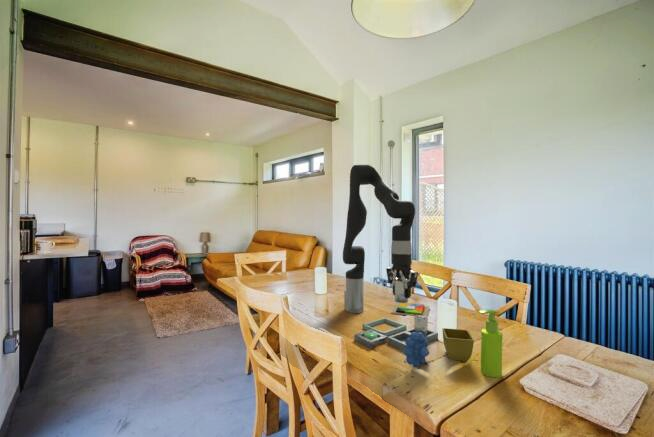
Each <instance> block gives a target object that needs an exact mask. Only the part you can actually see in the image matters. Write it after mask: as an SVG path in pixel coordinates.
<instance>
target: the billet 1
mask: <svg viewBox="0 0 654 437" xmlns="http://www.w3.org/2000/svg"><path fill="white" fill-rule="evenodd" d="M407 284H408V282H407ZM394 302H395V303H409V298H408V299H406V298H405V285H404V283H403V281H402V279H397V280H395V295H394Z"/></svg>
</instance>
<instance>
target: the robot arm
mask: <svg viewBox="0 0 654 437" xmlns="http://www.w3.org/2000/svg"><path fill="white" fill-rule="evenodd" d="M364 185H365V186H367V185H371V186H372V187H373V188H374V189H373V191H374V196H375V198H376V199H377V201H379V202H380V203H381V204H382V205H383V207H384V209H385V211H386V214H387V215H388V216H389V217H390V218H392V219H399V220H400V221H399V223H398V224H395V225H393V226H392V228H391V246H390V247H391V251H390V252H391V265H392V266H391V267H386V270H385V271H386V276H387V281H388V284H391V285H392V295H393V296H395V280H397V279H402V281H403V283H404V285H405V298H406V299H408V300H409V299H410V297H411V296H412V289H413V288H415V287H416V286H417V280H418V276H419V272H418V271H413V269H412V268H411V266H412V262H413V261H412V260H413V259H412V258H413V257H412V255H413V254H412V253H413V252H412V241H411V240H412V233H411V230H412V227H413V223H414V222H413V221H414V219H415V216H416V208H415V204H414V203H413V202H412V201H411V200H406V199H405V200H404V199H403V200H401V199H400V197H399V194H398V193H397V192H396V191H395V190H394V189H392V187H390V186H389V185H388V184H387V182H385V180H384V179H383V177H382V176H381V174H380V173H379V171H378V170H377V169H376V168H375V167H374V166H373V165H372V164H355V165H354V164H353V166H351V168H350V173H349V198H348V207H347V208H348V209H347V215H346V217H347V218H346V231H345V239H344V244H343V248H342V261H343V264H345V265H355V266H354V267H353V268H351V269H348V270H347V271H346V272H345V291H344V292H343V293H344V295H343V298H344V299H343V300H344V301H343V302H344V305H343V306H344V308H343V309H344V310H345V311H346V312H347V313H350V314H360V313H363V312H364V302H365V301H364V297H365V296H364V289H365V288H364V287H365V286H364V285H365V283H364V282H365V280H364V279H365V278H364V277H365V261H366V260H365V257H366V255H365V254H366V253H365V248H364V247H363V246H361V245H355V246H354V245H353V244H354V241H355V240H356V238H357V237H358V235H359V234H361V232H362V231H363V229H364V228H365V226H366V222H367V217H368V216H367V215H368V210H367V207H366V206H365V203H364V202H363V200H362V197H361V194H360V193H361V192H360V188H361V186H364ZM407 282H408V284H407Z"/></svg>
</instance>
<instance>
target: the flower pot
mask: <svg viewBox="0 0 654 437" xmlns="http://www.w3.org/2000/svg"><path fill="white" fill-rule="evenodd" d="M442 338H443V340H442V341H443V346H444V349H445V351H446V354H447V357H448V359H449V360H455V361H456V360H457V361H460V363H468V362H469V360H470V359H471V357H472V354H473V350H474V349H473V348H474V342H475V339H474V337H473V336H472V335H471V333H470V332H469V330H468V329H458V328H446V327H444V328H442Z"/></svg>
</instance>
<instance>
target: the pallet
mask: <svg viewBox="0 0 654 437" xmlns="http://www.w3.org/2000/svg"><path fill="white" fill-rule="evenodd" d="M412 332H414V327H412V328H410V329H406V330H403V331H400V332H397V333H395V334H392V335H389V336H387V337H388V339H387V344H389V345H391V346H393V347H395V348H398V349H400V350H402V351H403V350H404V348H405V347H408V346H407V345H406V344H405V340H406V339H407V338H411V337H410V334H411V333H412ZM425 339H427V341H428V343H429V344H430V343H431V342H433V341H435V340H438V339H439V333H438V332H437V331H433V330H431V329H430V328H429V329H428V335H427V336H425Z"/></svg>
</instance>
